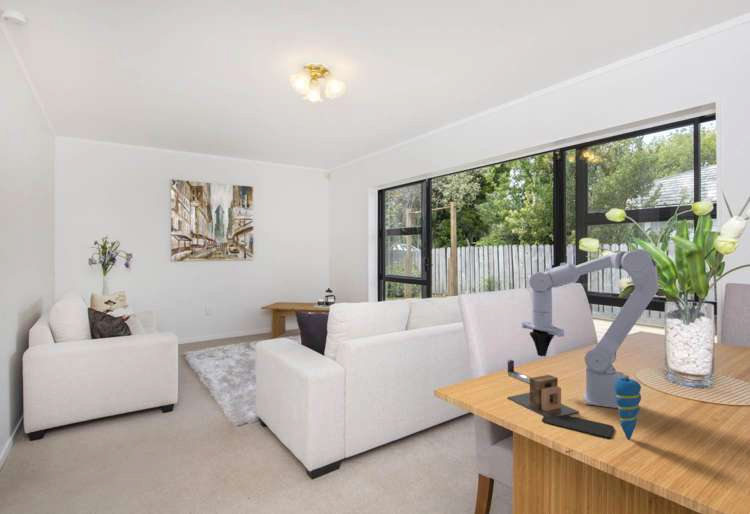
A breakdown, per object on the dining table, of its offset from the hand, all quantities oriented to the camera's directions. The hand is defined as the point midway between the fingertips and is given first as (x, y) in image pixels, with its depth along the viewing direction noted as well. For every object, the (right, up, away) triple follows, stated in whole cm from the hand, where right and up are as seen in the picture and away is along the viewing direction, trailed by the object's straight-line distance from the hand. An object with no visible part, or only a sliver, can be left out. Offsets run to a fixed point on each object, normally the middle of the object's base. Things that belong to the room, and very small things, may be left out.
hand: (541, 355), depth 119 cm
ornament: (+6, -11, -31) cm, 34 cm away
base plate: (-5, -11, -12) cm, 17 cm away
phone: (-2, -11, -24) cm, 27 cm away
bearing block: (-5, -11, -13) cm, 17 cm away
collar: (-4, -10, -15) cm, 19 cm away
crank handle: (-8, -6, -7) cm, 12 cm away
